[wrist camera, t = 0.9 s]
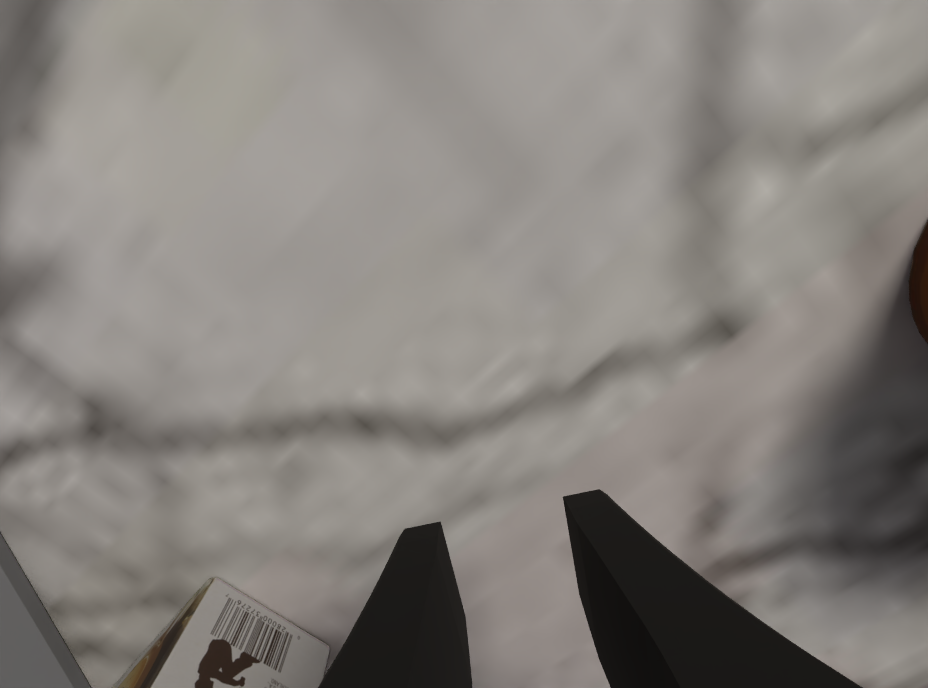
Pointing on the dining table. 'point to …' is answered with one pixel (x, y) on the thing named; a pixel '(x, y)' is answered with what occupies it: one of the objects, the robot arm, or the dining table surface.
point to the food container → (920, 284)
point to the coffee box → (228, 647)
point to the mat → (30, 636)
